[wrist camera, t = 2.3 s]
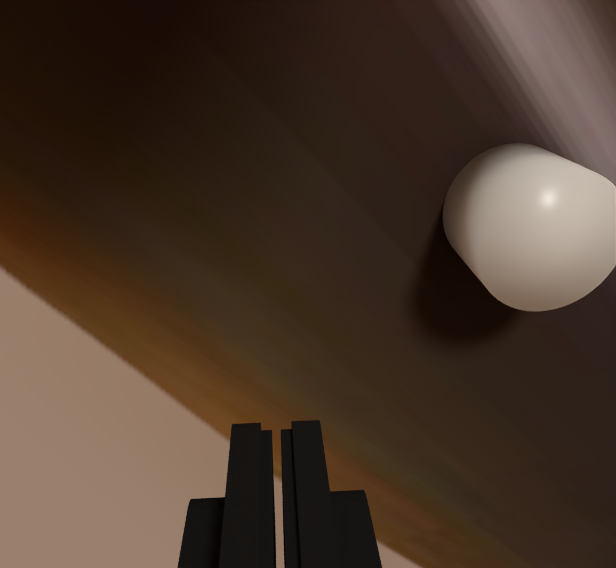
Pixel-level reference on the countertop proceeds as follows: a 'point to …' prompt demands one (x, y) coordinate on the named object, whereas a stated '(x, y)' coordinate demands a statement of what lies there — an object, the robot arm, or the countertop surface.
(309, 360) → the countertop surface
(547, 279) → the white domed cylinder
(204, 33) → the countertop surface
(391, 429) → the countertop surface
